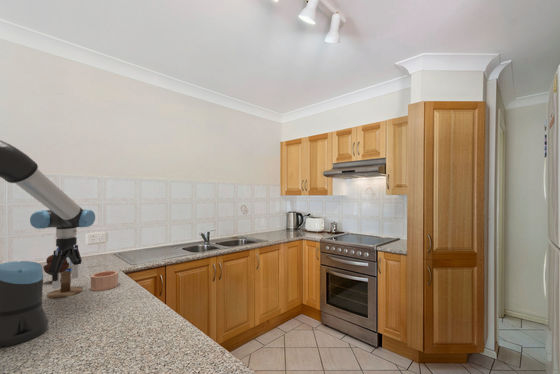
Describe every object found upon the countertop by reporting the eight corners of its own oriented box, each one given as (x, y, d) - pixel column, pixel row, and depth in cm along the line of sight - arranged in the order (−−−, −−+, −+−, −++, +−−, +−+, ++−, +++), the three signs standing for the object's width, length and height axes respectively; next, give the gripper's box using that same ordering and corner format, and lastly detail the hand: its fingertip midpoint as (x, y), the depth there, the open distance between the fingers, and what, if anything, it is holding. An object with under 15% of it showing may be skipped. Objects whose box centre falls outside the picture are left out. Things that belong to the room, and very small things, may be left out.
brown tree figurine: (54, 286, 133) (54, 257, 134) (36, 285, 135) (37, 256, 136) (74, 280, 143) (75, 252, 144) (58, 279, 146) (58, 251, 146)
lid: (72, 297, 117) (72, 275, 117) (39, 299, 115) (39, 277, 115) (88, 287, 130) (88, 267, 130) (59, 289, 128) (59, 269, 128)
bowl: (111, 291, 126) (111, 276, 126) (85, 292, 124) (85, 278, 124) (121, 283, 137) (121, 270, 137) (98, 285, 135) (98, 271, 135)
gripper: (57, 241, 111) (56, 292, 111) (90, 233, 136) (89, 274, 136) (37, 242, 110) (36, 293, 110) (74, 233, 135) (73, 274, 134)
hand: (66, 282), depth 123 cm, fingers open, 13 cm apart
